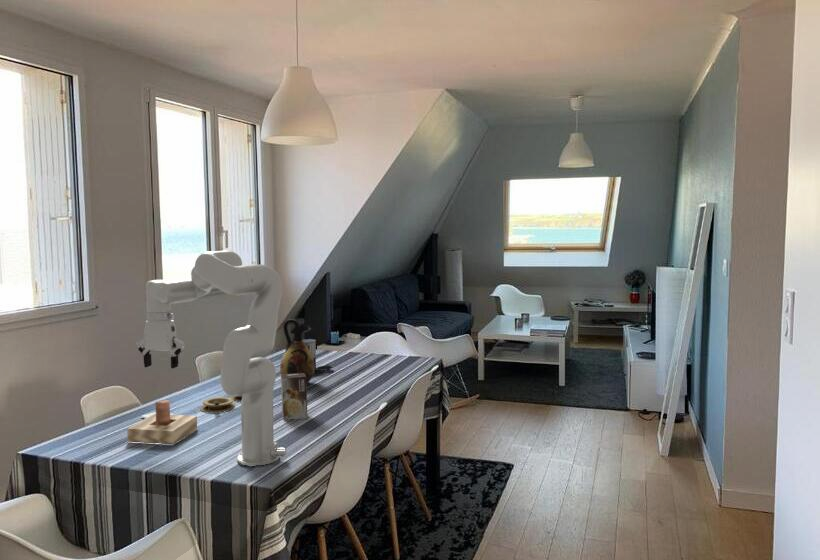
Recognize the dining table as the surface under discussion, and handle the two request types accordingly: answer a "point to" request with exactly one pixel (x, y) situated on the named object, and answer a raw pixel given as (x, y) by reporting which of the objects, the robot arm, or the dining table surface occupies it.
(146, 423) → the socket block
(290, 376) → the coffee box
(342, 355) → the dining table surface
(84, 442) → the dining table surface
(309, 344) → the milk frother
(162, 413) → the peg
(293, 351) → the ceramic jug
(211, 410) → the tableware set
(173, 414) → the external hard drive
